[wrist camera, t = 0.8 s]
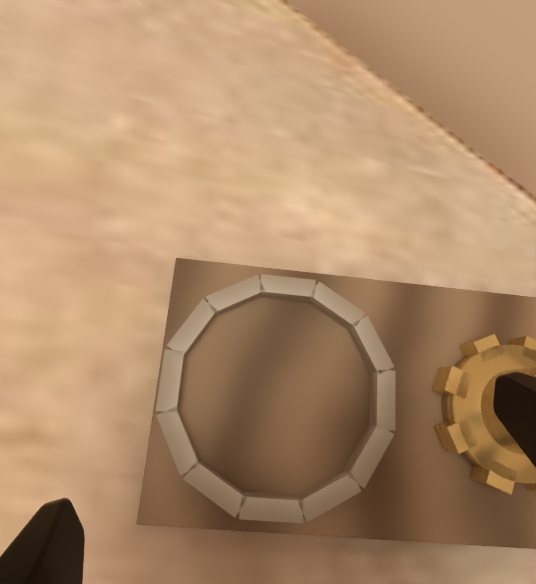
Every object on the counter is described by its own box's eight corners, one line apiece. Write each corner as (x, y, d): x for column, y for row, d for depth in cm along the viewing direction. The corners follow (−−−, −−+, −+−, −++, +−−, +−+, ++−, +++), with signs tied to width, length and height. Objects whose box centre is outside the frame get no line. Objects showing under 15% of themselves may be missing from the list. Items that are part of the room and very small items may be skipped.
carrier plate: (579, 307, 27) (609, 299, 25) (608, 547, 24) (646, 562, 21) (177, 263, 25) (173, 250, 23) (140, 518, 22) (131, 531, 19)
